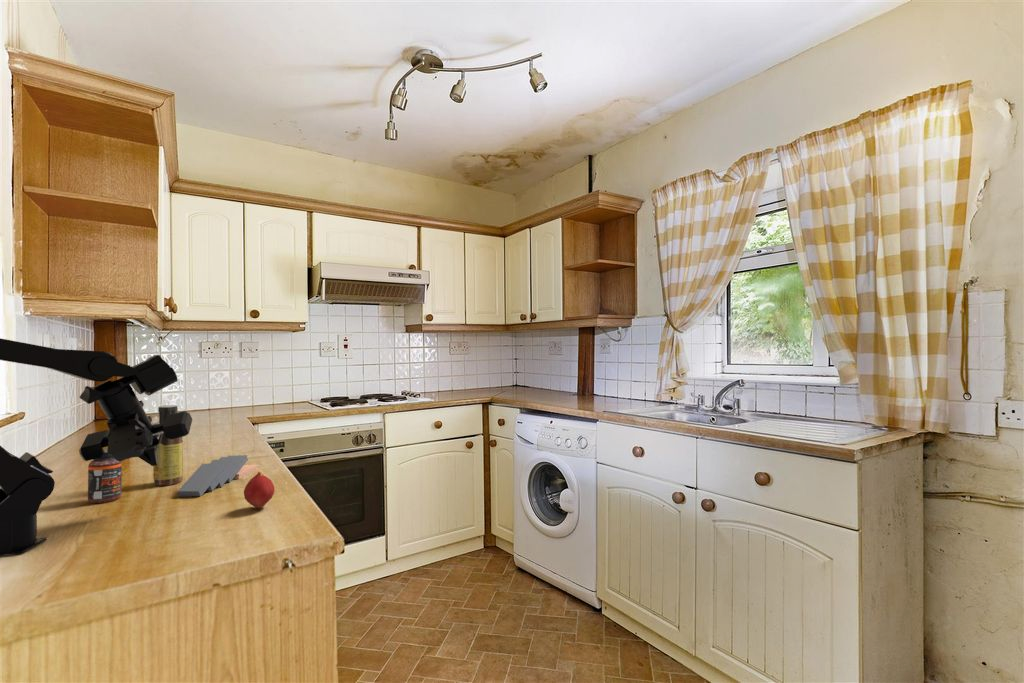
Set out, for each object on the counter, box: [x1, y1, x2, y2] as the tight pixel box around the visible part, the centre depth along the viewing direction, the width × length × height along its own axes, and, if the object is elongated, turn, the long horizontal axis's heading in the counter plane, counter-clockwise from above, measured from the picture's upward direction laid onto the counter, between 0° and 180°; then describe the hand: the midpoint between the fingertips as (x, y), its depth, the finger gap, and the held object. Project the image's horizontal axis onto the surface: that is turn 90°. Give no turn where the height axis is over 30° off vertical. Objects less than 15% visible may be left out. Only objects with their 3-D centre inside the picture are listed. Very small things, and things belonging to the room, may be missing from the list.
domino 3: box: [215, 456, 241, 488], centre depth 127 cm, size 2×5×10 cm
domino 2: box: [205, 459, 234, 492], centre depth 123 cm, size 2×5×10 cm
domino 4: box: [225, 454, 249, 483], centre depth 131 cm, size 2×5×10 cm
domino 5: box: [232, 464, 260, 480], centre depth 135 cm, size 2×5×10 cm
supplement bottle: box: [87, 448, 123, 504], centre depth 113 cm, size 6×6×11 cm
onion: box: [243, 470, 276, 509], centre depth 106 cm, size 6×6×8 cm
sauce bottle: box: [152, 404, 184, 486], centre depth 126 cm, size 7×6×20 cm
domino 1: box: [177, 463, 224, 498], centre depth 119 cm, size 2×5×10 cm
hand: (155, 464), depth 107 cm, fingers closed
